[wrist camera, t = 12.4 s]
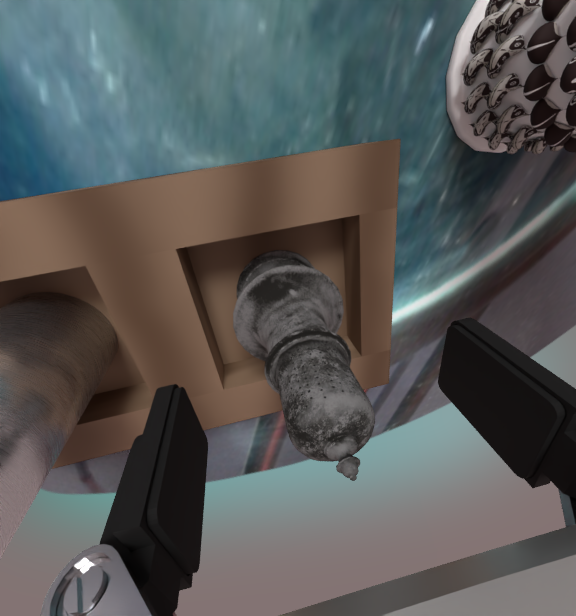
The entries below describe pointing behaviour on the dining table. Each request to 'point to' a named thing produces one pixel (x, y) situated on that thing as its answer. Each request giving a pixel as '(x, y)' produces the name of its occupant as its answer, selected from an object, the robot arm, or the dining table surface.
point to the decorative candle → (515, 76)
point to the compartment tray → (206, 275)
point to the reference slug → (44, 389)
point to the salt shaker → (304, 355)
